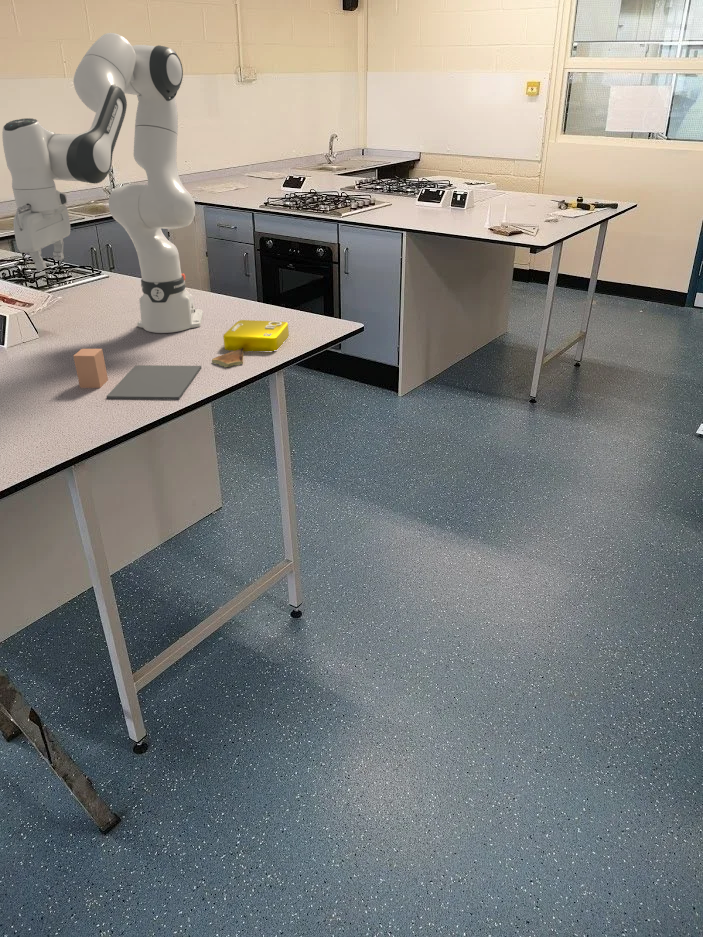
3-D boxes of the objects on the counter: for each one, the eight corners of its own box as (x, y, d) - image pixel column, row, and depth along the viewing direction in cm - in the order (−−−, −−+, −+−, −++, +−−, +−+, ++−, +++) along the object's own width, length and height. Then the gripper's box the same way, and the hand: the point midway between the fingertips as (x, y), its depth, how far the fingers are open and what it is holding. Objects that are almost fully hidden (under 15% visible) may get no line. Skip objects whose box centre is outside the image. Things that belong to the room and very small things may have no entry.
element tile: (240, 334, 207) (238, 317, 205) (290, 336, 204) (289, 319, 202) (222, 351, 194) (220, 334, 192) (276, 354, 191) (275, 336, 189)
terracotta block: (88, 379, 177) (81, 348, 173) (108, 380, 176) (102, 348, 172) (80, 387, 172) (73, 355, 168) (100, 387, 172) (94, 356, 168)
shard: (243, 353, 193) (242, 346, 192) (262, 359, 188) (262, 352, 187) (211, 364, 186) (210, 357, 185) (230, 371, 181) (229, 364, 180)
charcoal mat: (135, 367, 183) (135, 365, 183) (201, 368, 182) (201, 365, 182) (106, 398, 166) (106, 396, 166) (179, 399, 165) (179, 397, 164)
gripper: (29, 208, 150) (44, 275, 157) (69, 194, 168) (81, 254, 175) (0, 208, 151) (15, 275, 157) (43, 194, 168) (56, 254, 175)
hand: (50, 264), depth 166 cm, fingers open, 8 cm apart
